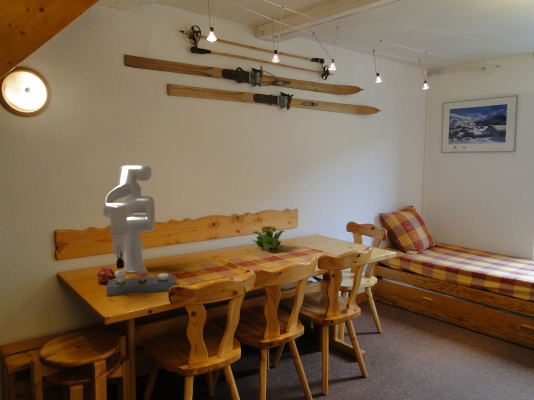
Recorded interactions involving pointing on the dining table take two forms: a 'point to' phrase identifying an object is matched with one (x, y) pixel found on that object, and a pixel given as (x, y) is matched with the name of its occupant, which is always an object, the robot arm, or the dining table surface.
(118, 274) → the knob
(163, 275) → the knob
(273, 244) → the potted flower
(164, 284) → the knob mount
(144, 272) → the dial
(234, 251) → the dining table surface
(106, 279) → the dragon fruit
